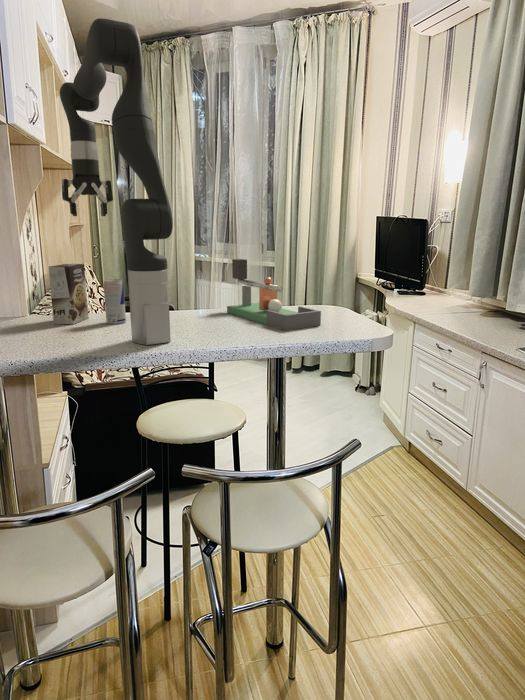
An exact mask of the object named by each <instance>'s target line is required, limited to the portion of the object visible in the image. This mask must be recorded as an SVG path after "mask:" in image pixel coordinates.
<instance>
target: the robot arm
mask: <svg viewBox="0 0 525 700" xmlns="http://www.w3.org/2000/svg"><path fill="white" fill-rule="evenodd" d="M103 64H104V65H107V66H114V67H121V68H123V69H124V70H125V75H126V76H125V77H126V81H125V82H126V83H125V85H124V88H123V90H122V92H121V94H120V96H119V98H118V99H117V102H116V104H115V105H114V107H113V111H112V113H111V114H112V115H111V126H112V132H113V137H114V143H115V146H116V148H117V150H118V152H119V154H120V156H121V157H122V158H123V160H124V161H125V162H126V163H127V164H128V166H129V167H130V168H131V170H132V171H133V172H134V173H135V174H136V176H137V177H138V178H139V180H140V181H141V183H142V185H143V187H144V190H145V192H146V195H147V198H128V199H125V200H124V202H123V204H122V207H121V224H122V233H123V241H124V252H125V258H126V259H125V260H126V264H127V265H126V267H127V268H126V269H127V280H128V281H127V283H128V296H129V297H128V298H129V315H130V330H131V341H132V343H134V344H140V345H145V346H151V345H158V344H163V343H170V342H171V341H172V340H171V321H170V299H169V298H170V295H169V275H168V273H169V271H168V259H167V258H166V257H165V256H164V255H162V254H161V255H160V254H158V253H155V252H153V251H151V250H149V249H147V247H146V246H145V243H144V241H149V240H150V241H151V240H152V241H153V240H166V239H169V238H170V236H171V235H172V233H173V227H174V222H173V221H174V220H173V213H172V208H171V205H170V200H169V197H168V196H169V195H168V193H167V189H166V186H165V181H164V177H163V174H162V171H161V164H160V160H159V159H160V158H159V153H158V148H157V142H156V141H157V140H156V136H155V130H154V129H155V128H154V124H153V120H152V119H153V118H152V115H151V110H150V105H149V99H148V93H147V88H146V81H145V73H144V70H145V69H144V60H143V53H142V43H141V38H140V35H139V31H138V29H137V27H136V26H135V25H133V24H131V23H128V22H124V21H118V20H114V19H110V18H102V17H101V18H100V17H99V18H96V19H94V20H93V21H92V23H91V25H90V27H89V30H88V33H87V37H86V42H85V46H84V51H83V55H82V61H81V64H80V67H79V69H78V71H76V72H77V73H76V75H75V76H74V78H73V82H70V81H69V82H64V83H63V84H62V85H61V86H60V88H59V98H60V102H61V105H62V107H63V110H64V113H65V115H66V119H67V123H68V128H69V137H70V138H69V139H70V159H71V168H72V169H71V171H72V179H68V178H63V179H61V196H62V197H61V199H62V201H65V202H68V204H69V211H70V212H69V213H70V215H72V217H78V211H77V209H78V208H77V203H76V201H77V200H78V198H79V197H80V196H87V195H89V196H95V197H96V198H97V199H98V200H99V202H100V216H101V217H107V215H108V203H110V202H113V201H114V196H113V187H112V181H111V180H101V178H100V177H101V176H100V164H99V163H100V161H99V151H98V146H97V145H98V144H97V138H96V135H97V134H96V126H95V125H96V124H95V123H94V122H93V121H92V120H89V119H85V118H83V117H82V116H80V115H79V113H78V112H79V111H80V112H86V113H91V112H92V113H93V112H95V111H97V110H98V109H99V106H100V93H101V92H102V91H103V89H104V88H105V85H106V82H107V71H106V69H105V67H104V65H103ZM71 185H72V186H73V188H75V190H74V191H73V192H72V194H71V196H69V195H70V193H69V188H70V187H71ZM101 186H102V187H103V189H105V190H104V191H105V195H104V194H103V192H102V191H101Z"/></svg>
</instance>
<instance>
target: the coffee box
mask: <svg viewBox="0 0 525 700" xmlns="http://www.w3.org/2000/svg"><path fill="white" fill-rule="evenodd" d="M48 276H49V287H50V298H51V308H52V309H51V310H52V321H53V324H54V325H56V324H59V325H61V324H62V325H75V323H76V324H78V323H80V321H81V322H83V321H86V320H88V319H89V307H88V306H89V305H88V304H89V303H88V294H87V284H86V283H87V282H86V271H85V263H63V264H57V265H49V266H48Z"/></svg>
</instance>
